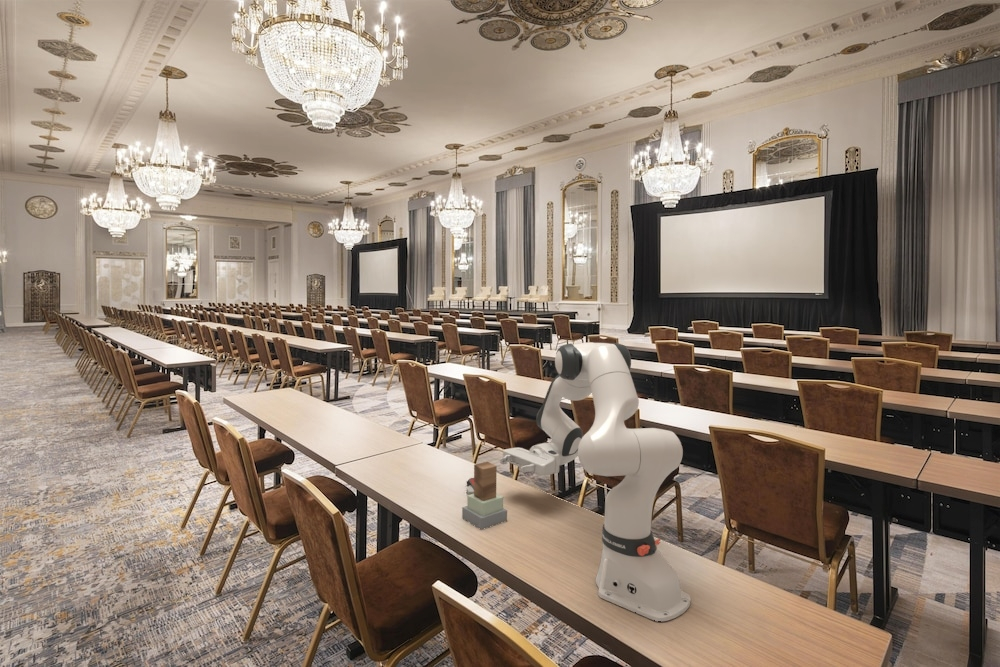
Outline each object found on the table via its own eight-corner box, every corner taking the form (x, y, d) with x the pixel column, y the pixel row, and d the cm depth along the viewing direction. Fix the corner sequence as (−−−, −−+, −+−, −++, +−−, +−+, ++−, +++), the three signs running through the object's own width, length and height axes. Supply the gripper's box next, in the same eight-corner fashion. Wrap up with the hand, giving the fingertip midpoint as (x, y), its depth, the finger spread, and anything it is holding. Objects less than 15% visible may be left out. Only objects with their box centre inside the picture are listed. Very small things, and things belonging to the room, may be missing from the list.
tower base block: (506, 522, 162) (507, 509, 162) (481, 531, 156) (481, 518, 156) (487, 511, 170) (487, 499, 170) (462, 519, 164) (462, 507, 163)
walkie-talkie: (461, 485, 192) (473, 507, 173) (461, 474, 192) (473, 494, 172) (484, 483, 194) (499, 505, 175) (484, 472, 194) (499, 492, 175)
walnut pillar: (496, 497, 161) (496, 466, 160) (482, 501, 158) (483, 469, 157) (487, 492, 165) (487, 461, 164) (474, 495, 162) (474, 464, 162)
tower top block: (503, 509, 162) (503, 497, 162) (483, 516, 157) (483, 503, 157) (487, 501, 168) (487, 489, 168) (467, 507, 163) (467, 495, 163)
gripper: (520, 441, 185) (490, 448, 176) (562, 455, 170) (532, 464, 161) (520, 458, 186) (490, 466, 177) (562, 474, 170) (531, 484, 161)
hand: (510, 465), depth 169 cm, fingers open, 8 cm apart
